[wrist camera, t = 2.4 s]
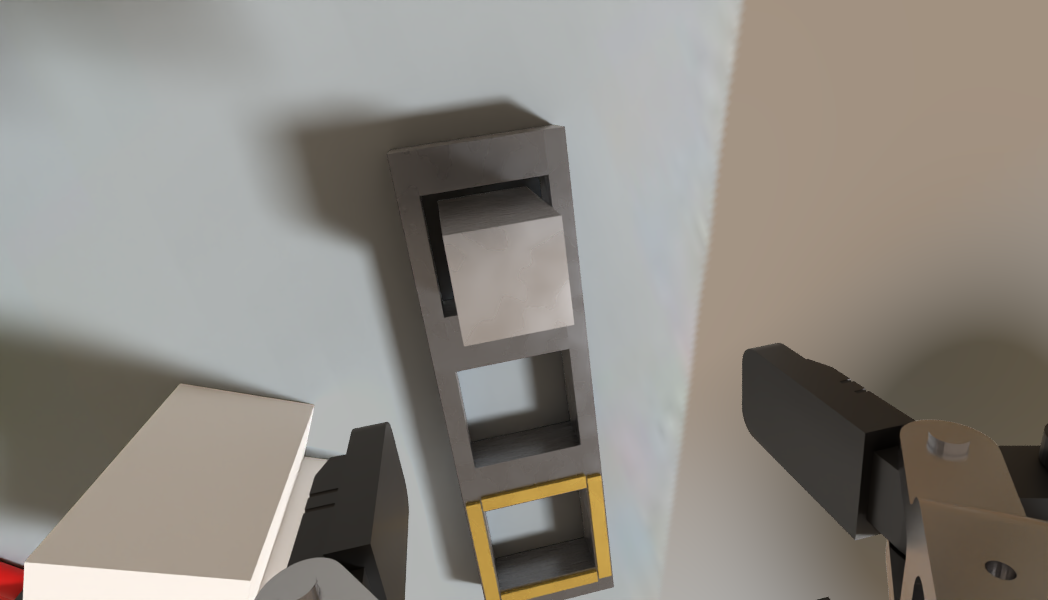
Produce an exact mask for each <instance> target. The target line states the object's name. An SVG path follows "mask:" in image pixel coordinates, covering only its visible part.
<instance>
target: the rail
mask: <svg viewBox="0 0 1048 600" xmlns="http://www.w3.org/2000/svg"><path fill="white" fill-rule="evenodd" d="M387 157H388V162H389V166H390V171H391V175H392V180H393V184H394V189H395V193H396V198H397V203H398V207H399V212H400V216H401V221H402V225H403V230H404V234H405V239H406V243H407V248H408V253H409V257H410V262H411V266H412V271H413V275H414V280H415V284H416V289H417V294H418V298H419V303H420V307H421V312H422V316H423V321H424V325H425V330H426V334H427V339H428V344H429V348H430V353H431V357H432V362H433V366H434V371H435V375H436V380H437V385H438V389H439V394H440V398H441V403H442V407H443V412H444V416H445V421H446V425H447V430H448V435H449V439H450V444H451V448H452V453H453V457H454V462H455V466H456V471H457V476H458V480H459V485H460V489H461V494H462V498H463V503H464V507H465V512H466V517H467V521H468V526H469V530H470V535H471V539H472V544H473V548H474V553H475V557H476V562H477V567H478V571H479V576H480V580H481V585H482V589H483V594H484V598H485V600H565V599H568V598H572V597H576V596H580V595H584V594H588V593H592V592H596V591H600V590H604V589H608V588H612V587H614V584H613V575H612V565H611V556H610V547H609V537H608V528H607V519H606V509H605V500H604V490H603V481H602V472H601V462H600V453H599V444H598V434H597V425H596V415H595V406H594V397H593V387H592V378H591V369H590V359H589V350H588V340H587V331H586V322H585V312H584V303H583V294H582V284H581V275H580V265H579V256H578V247H577V237H576V228H575V219H574V209H573V200H572V190H571V181H570V172H569V162H568V153H567V144H566V134H565V127H564V126H558V125H547V126H540V127H534V128H528V129H521V130H515V131H508V132H502V133H495V134H489V135H483V136H476V137H470V138H463V139H457V140H451V141H444V142H438V143H431V144H425V145H418V146H412V147H406V148H399V149H393V150H390V151H389V152H388V154H387ZM537 176H539V179H540V187H541V195H542V200H544V201H545V202H546V203H547V204H548V205H550V206H551V207H552V208H553V209H555V210H556V211H557V212H558V213H559V214H561V215H562V222H563V230H564V239H565V248H566V256H567V265H568V274H569V283H570V291H571V300H572V309H573V317H574V325H571V326H566V327H560V328H555V329H550V330H545V331H540V332H535V333H530V334H525V335H520V336H515V337H510V338H505V339H500V340H495V341H490V342H484V343H479V344H474V345H469V346H464V344H463V339H462V334H461V329H460V324H459V318H458V313H457V308H456V303H455V299H450V300H445V301H442V296H441V291H440V286H439V281H438V276H437V271H436V267H435V262H434V257H433V252H432V247H431V242H430V237H429V232H428V227H427V222H426V217H425V213H424V208H423V203H422V198H421V196H423V195H429V194H435V193H441V192H447V191H453V190H459V189H465V188H471V187H477V186H483V185H489V184H495V183H501V182H507V181H513V180H519V179H525V178H531V177H537ZM556 351H561V353H562V361H563V369H564V377H565V385H566V393H567V401H568V409H569V417H570V421H568V422H563V423H559V424H554V425H550V426H545V427H540V428H536V429H531V430H527V431H522V432H517V433H513V434H508V435H504V436H499V437H494V438H490V439H485V440H481V441H476V442H471V438H470V434H469V429H468V424H467V419H466V414H465V409H464V404H463V399H462V394H461V389H460V384H459V380H458V375H457V371H462V370H467V369H472V368H477V367H482V366H487V365H492V364H497V363H502V362H506V361H511V360H516V359H521V358H526V357H531V356H536V355H541V354H546V353H551V352H556ZM577 490H579V496H580V504H581V512H582V520H583V528H584V536H585V537H584V538H580V539H575V540H571V541H567V542H563V543H559V544H555V545H551V546H546V547H542V548H538V549H534V550H530V551H526V552H522V553H518V554H513V555H509V556H505V557H501V558H497V559H495V556H494V551H493V546H492V542H491V537H490V532H489V527H488V522H487V517H486V511H490V510H495V509H499V508H503V507H508V506H512V505H516V504H520V503H525V502H529V501H533V500H538V499H542V498H546V497H551V496H555V495H559V494H564V493H568V492H572V491H577Z"/></svg>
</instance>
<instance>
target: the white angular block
mask: <svg viewBox="0 0 1048 600" xmlns="http://www.w3.org/2000/svg"><path fill="white" fill-rule="evenodd" d="M313 410H314V405H312V404H306V403H300V402H293V401H287V400H281V399H275V398H268V397H262V396H256V395H250V394H243V393H237V392H231V391H225V390H218V389H212V388H206V387H200V386H194V385H187V384H181V383H180V384H179V385H178V386H177V387H176V389H175V390H174V391H173V392H172V393H171V394H170V396H169V397H168V398H167V399H166V400H165V401H164V402H163V404H162V405H161V406H160V407H159V408H158V409H157V410H156V412H155V413H154V414H153V415H152V416H151V417H150V418H149V420H148V421H147V422H146V423H145V424H144V425H143V427H142V428H141V429H140V430H139V431H138V432H137V433H136V435H135V436H134V437H133V438H132V439H131V440H130V441H129V443H128V444H127V445H126V446H125V447H124V448H123V449H122V451H121V452H120V453H119V454H118V455H117V456H116V458H115V459H114V460H113V461H112V462H111V463H110V464H109V466H108V467H107V468H106V469H105V470H104V471H103V472H102V474H101V475H100V476H99V477H98V478H97V479H96V480H95V482H94V483H93V484H92V485H91V486H90V487H89V489H88V490H87V491H86V492H85V493H84V494H83V495H82V497H81V498H80V499H79V500H78V501H77V502H76V503H75V505H74V506H73V507H72V508H71V509H70V510H69V511H68V513H67V514H66V515H65V516H64V517H63V518H62V520H61V521H60V522H59V523H58V524H57V525H56V526H55V528H54V529H53V530H52V531H51V532H50V533H49V534H48V536H47V537H46V538H45V539H44V540H43V541H42V542H41V544H40V545H39V546H38V547H37V548H36V549H35V551H34V552H33V553H32V554H31V555H30V556H29V557H28V559H27V560H26V561H25V562H24V584H23V600H254V599H255V597H256V596H257V594H258V593H259V591H260V590H261V589H262V587H263V586H264V585H265V584H266V583H267V582H268V581H269V580H270V579H271V578H272V577H274V576H275V575H276V574H278V573H279V572H280V571H282V570H284V569H285V568H287V565H288V562H289V559H290V555H291V552H292V549H293V546H294V542H295V539H296V536H297V532H298V529H299V526H300V523H301V519H302V516H303V513H305V506H306V503H307V500H308V498H310V496H309V493H310V490H311V487H312V483H313V480H314V477H315V475H316V474H317V473H318V471H319V470H320V469H321V468H322V467H323V465H324V464H325V463H326V462H327V461H328V460H327V459H319V458H312V457H305V456H304V455H305V450H306V445H307V440H308V435H309V430H310V425H311V420H312V415H313Z"/></svg>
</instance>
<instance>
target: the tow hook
mask: <svg viewBox="0 0 1048 600" xmlns="http://www.w3.org/2000/svg"><path fill="white" fill-rule="evenodd" d="M23 584H24V570H23V569H20V568H17V567H15V566H12V565H9V564H6V563H3V562H0V600H23Z"/></svg>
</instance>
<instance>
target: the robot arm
mask: <svg viewBox="0 0 1048 600" xmlns="http://www.w3.org/2000/svg"><path fill="white" fill-rule="evenodd" d="M742 412H743V417H744V421H745V424H746V426H747V428H748V430H749V432H750V434H751V435H752V436H753V437H754V438H755V439H756V440H757V441H758V442H759V443H760V444H761V445H762V446H763V447H764V449H765V450H766V451H767V452H768V453H769V454H770V455H771V456H772V457H773V458H775V460H776V461H777V462H778V463H779V464H780V465H781V466H782V467H784V469H785V470H786V471H787V472H788V473H789V474H790V475H791V476H792V477H793V478H794V479H795V480H796V481H797V482H798V483H799V484H800V485H801V486H802V487H803V488H804V489H805V490H806V491H807V492H808V493H809V494H810V495H811V496H812V497H813V498H814V499H815V500H816V501H817V502H818V503H819V504H820V505H821V506H822V507H823V508H824V509H825V510H826V511H827V512H828V513H829V514H830V515H831V516H832V517H833V518H834V519H835V520H836V521H837V522H838V523H839V524H840V525H841V526H842V527H843V528H844V529H845V530H846V531H847V532H848V533H849V534H850V535H851V537H852V538H854V540H858V539H862V538H866V537H870V536H874V535H878V534H882V535H883V536H885V538H887V544H886V555H885V556H886V567H887V577H888V590H889V600H1048V424H1047V425H1046V426H1045V429H1044V432H1043V437H1042V442H1041V446H998V445H997V444H996V443H995V442H994V441H993V440H992V439H991V438H989V437H988V436H986V435H984V434H983V433H981V432H979V431H977V430H975V429H973V428H970V427H968V426H964V425H961V424H958V423H954V422H949V421H942V420H918V421H915V420H914V419H912V418H910V417H909V416H907V415H906V414H904V413H903V412H901V411H899V410H898V409H896V408H895V407H893V406H892V405H890V404H888V403H887V402H885V401H884V400H882V399H881V398H879V397H878V396H876V395H874V394H873V393H871V392H870V391H867V392H866V390H865V388H864V387H862V386H861V385H859V384H857V383H856V382H854V381H853V382H851V380H850V378H848V377H847V376H845V375H843V374H842V373H840V372H838V371H837V370H836V369H834V368H832V367H830V366H827V365H824V364H821V363H818V362H815V361H812V360H809V359H805V358H803V357H802V356H800V355H799V354H797V353H796V352H794V351H793V350H791V349H790V348H788V347H787V346H785V345H784V344H781V343H775V344H771V345H766V346H761V347H756V348H751V349H747V350H746V351H745V352H744V355H743V361H742ZM309 496H310V498H308V500H307V503H306V506H305V513H303V516H302V519H301V523H300V526H299V529H298V532H297V536H296V539H295V542H294V546H293V549H292V552H291V555H290V559H289V562H288V565H287V568H285V569H284V570H282V571H280V572H279V573H278V574H276V575H275V576H274V577H272V578H271V579H270V580H269V581H268V582H267V583H266V584H265V585H264V586H263V587H262V589H261V590H260V591H259V593H258V594H257V596H256V597H255V599H254V600H405V582H406V560H407V538H408V516H409V506H408V495H407V489H406V484H405V479H404V475H403V472H402V468H401V464H400V460H399V456H398V452H397V448H396V444H395V440H394V436H393V432H392V429H391V426H390V424H389V423H388V422H384V423H380V424H375V425H370V426H365V427H360V428H355V429H353V430H352V432H351V436H350V440H349V444H348V449H347V453H346V455H341V456H337V457H332V458H329V460H328V461H327V462H326V463H325V464H324V465H323V467H322V468H321V469H320V470H319V471H318V473H317V474H316V475H315V477H314V480H313V483H312V487H311V490H310V493H309ZM818 600H830V599H829V598H828V597H826V598H822V599H818Z"/></svg>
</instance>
